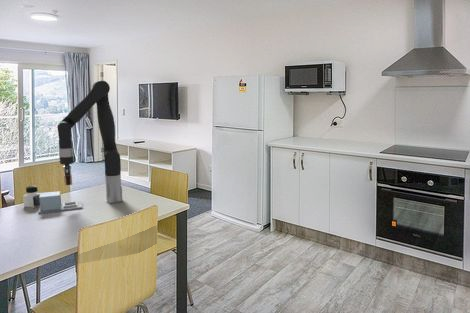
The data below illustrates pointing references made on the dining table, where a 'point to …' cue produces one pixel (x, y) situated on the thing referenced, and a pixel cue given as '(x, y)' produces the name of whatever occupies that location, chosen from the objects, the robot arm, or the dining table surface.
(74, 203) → the housing base
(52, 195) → the cover
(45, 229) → the dining table surface
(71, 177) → the tan rectangular block
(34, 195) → the medicine bottle
